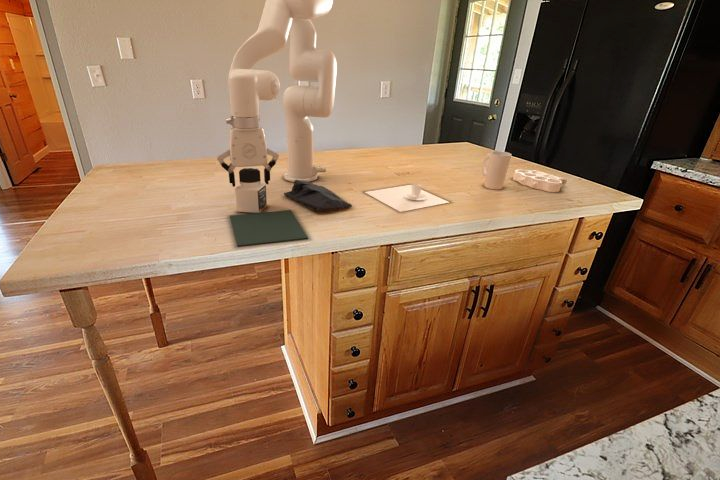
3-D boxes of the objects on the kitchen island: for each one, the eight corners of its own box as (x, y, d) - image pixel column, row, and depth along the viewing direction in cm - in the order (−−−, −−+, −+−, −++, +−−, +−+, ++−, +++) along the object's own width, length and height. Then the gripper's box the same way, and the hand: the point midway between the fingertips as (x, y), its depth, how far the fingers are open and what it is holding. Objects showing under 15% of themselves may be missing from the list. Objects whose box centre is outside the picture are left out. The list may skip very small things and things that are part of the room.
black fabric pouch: (312, 217, 114) (312, 201, 111) (281, 194, 130) (280, 180, 128) (356, 208, 120) (357, 193, 118) (321, 188, 137) (321, 174, 135)
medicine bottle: (259, 213, 114) (256, 172, 109) (236, 211, 116) (232, 171, 110) (267, 206, 121) (265, 166, 115) (245, 204, 122) (242, 165, 117)
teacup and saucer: (411, 203, 125) (413, 191, 123) (396, 195, 131) (397, 184, 129) (432, 199, 129) (434, 187, 127) (416, 192, 135) (418, 180, 133)
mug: (507, 188, 140) (516, 154, 134) (493, 190, 138) (502, 156, 132) (485, 180, 148) (493, 148, 142) (472, 182, 146) (479, 150, 140)
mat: (290, 211, 118) (290, 209, 118) (307, 238, 101) (307, 237, 101) (230, 216, 113) (229, 215, 113) (237, 246, 97) (237, 245, 96)
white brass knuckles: (573, 188, 141) (546, 194, 135) (530, 175, 155) (504, 179, 149) (576, 179, 140) (549, 184, 134) (532, 167, 154) (506, 171, 148)
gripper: (214, 126, 101) (220, 190, 109) (280, 124, 105) (281, 186, 113) (212, 121, 107) (219, 182, 115) (274, 119, 111) (277, 178, 120)
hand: (250, 184), depth 114 cm, fingers open, 9 cm apart
